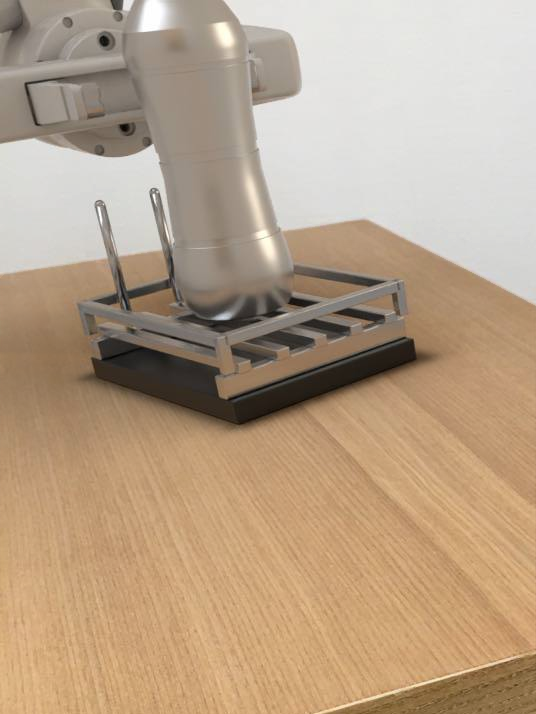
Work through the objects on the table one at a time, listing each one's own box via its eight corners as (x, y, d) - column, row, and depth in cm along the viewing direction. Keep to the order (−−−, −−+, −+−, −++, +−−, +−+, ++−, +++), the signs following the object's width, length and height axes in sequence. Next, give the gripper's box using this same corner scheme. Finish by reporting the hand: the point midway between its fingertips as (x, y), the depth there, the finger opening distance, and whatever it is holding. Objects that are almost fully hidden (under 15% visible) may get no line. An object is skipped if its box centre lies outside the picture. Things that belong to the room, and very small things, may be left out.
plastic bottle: (266, 333, 67) (183, -74, 58) (162, 333, 69) (67, -59, 61) (322, 300, 72) (252, -77, 64) (223, 302, 75) (144, -62, 66)
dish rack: (95, 376, 74) (49, 208, 69) (263, 323, 81) (231, 168, 77) (238, 424, 63) (194, 229, 59) (417, 358, 70) (390, 180, 66)
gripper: (-89, 52, 72) (-41, 52, 61) (238, 11, 81) (328, 5, 71) (-56, 163, 74) (-4, 182, 64) (257, 110, 84) (347, 119, 74)
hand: (174, 88), depth 67 cm, fingers open, 8 cm apart
